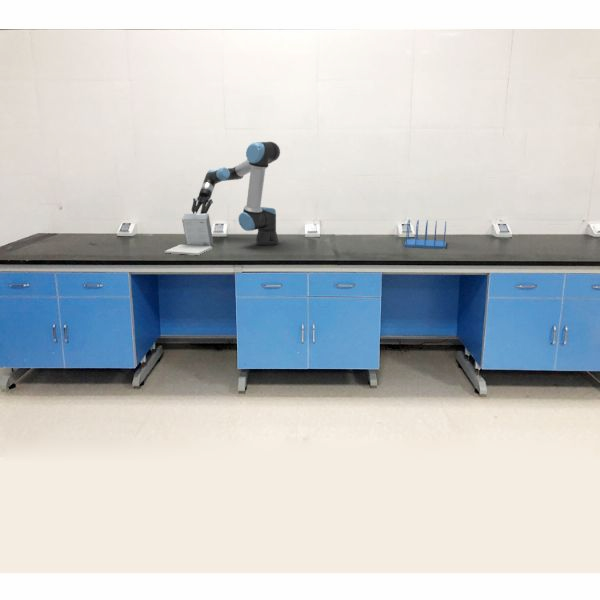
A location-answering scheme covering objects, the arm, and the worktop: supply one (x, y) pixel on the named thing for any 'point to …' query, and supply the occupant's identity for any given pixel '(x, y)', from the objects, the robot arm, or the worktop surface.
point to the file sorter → (425, 242)
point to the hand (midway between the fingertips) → (195, 221)
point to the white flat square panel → (189, 249)
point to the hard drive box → (197, 229)
